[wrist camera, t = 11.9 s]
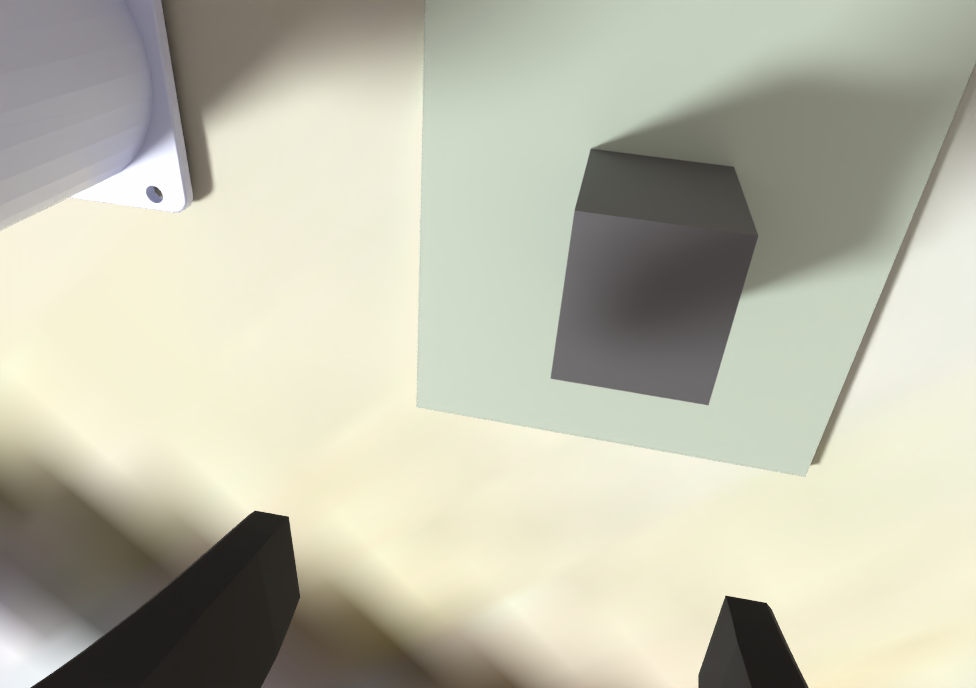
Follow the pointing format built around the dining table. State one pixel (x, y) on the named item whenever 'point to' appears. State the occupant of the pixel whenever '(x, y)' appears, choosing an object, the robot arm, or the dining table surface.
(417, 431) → the dining table surface
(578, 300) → the sliding lid
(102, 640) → the robot arm
